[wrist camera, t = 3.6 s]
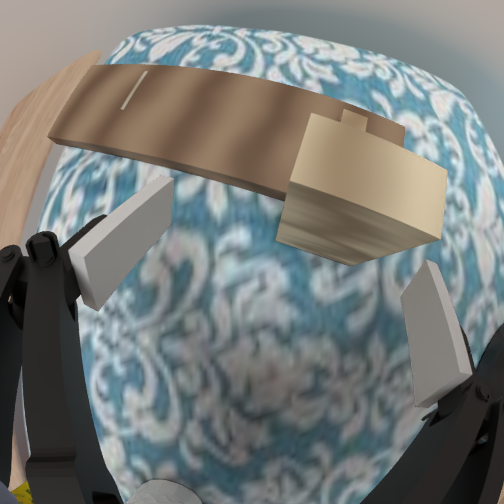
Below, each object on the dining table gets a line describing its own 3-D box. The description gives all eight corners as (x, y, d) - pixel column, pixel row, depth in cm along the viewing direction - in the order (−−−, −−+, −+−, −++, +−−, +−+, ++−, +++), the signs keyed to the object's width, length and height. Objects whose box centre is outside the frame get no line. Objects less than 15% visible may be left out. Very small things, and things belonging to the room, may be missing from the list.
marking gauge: (376, 145, 22) (440, 57, 10) (350, 266, 21) (440, 239, 9) (313, 122, 22) (341, 15, 10) (275, 240, 21) (289, 180, 9)
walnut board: (396, 137, 22) (405, 126, 20) (380, 235, 21) (390, 230, 19) (98, 74, 25) (91, 65, 23) (56, 144, 24) (46, 136, 22)
